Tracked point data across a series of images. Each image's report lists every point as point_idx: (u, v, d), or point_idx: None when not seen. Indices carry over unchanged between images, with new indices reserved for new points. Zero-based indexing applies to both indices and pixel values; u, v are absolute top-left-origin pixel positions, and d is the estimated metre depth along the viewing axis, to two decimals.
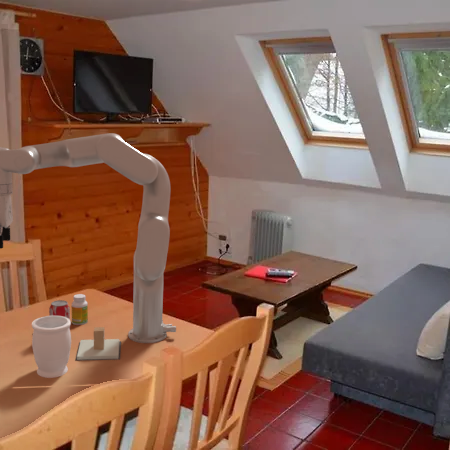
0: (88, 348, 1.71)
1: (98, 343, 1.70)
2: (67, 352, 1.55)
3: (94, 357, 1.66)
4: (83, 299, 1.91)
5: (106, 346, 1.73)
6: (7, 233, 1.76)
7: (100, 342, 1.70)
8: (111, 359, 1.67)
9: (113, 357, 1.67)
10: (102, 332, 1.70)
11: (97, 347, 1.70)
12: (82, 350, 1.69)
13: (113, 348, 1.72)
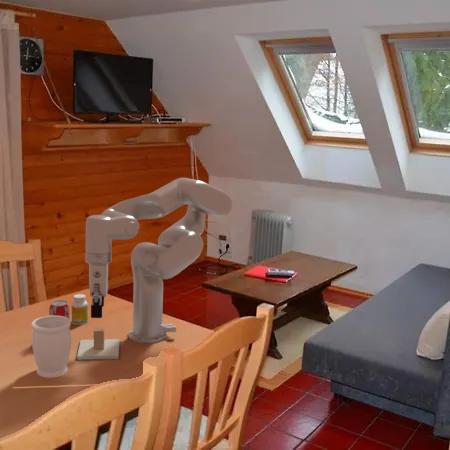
0: (88, 348, 1.71)
1: (98, 343, 1.70)
2: (67, 352, 1.55)
3: (94, 357, 1.66)
4: (83, 299, 1.91)
5: (106, 346, 1.73)
6: (101, 299, 1.73)
7: (100, 342, 1.70)
8: (111, 359, 1.67)
9: (113, 357, 1.67)
10: (102, 332, 1.70)
11: (97, 347, 1.70)
12: (82, 350, 1.69)
13: (113, 348, 1.72)
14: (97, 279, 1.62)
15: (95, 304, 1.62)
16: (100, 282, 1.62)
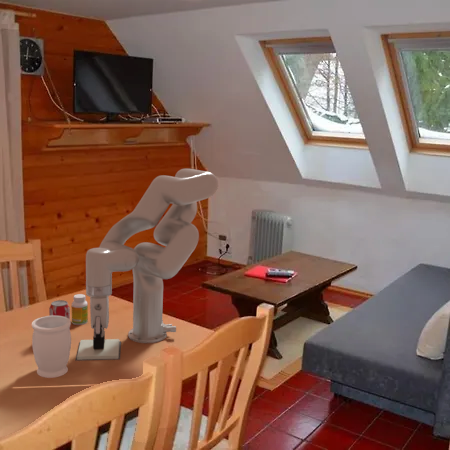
0: (88, 348, 1.71)
1: None
2: (67, 352, 1.55)
3: (94, 357, 1.66)
4: (83, 299, 1.91)
5: (106, 346, 1.73)
6: None
7: None
8: (111, 359, 1.67)
9: (113, 357, 1.67)
10: None
11: None
12: (82, 350, 1.69)
13: (113, 348, 1.72)
14: (98, 312, 1.65)
15: (97, 336, 1.68)
16: (101, 315, 1.65)
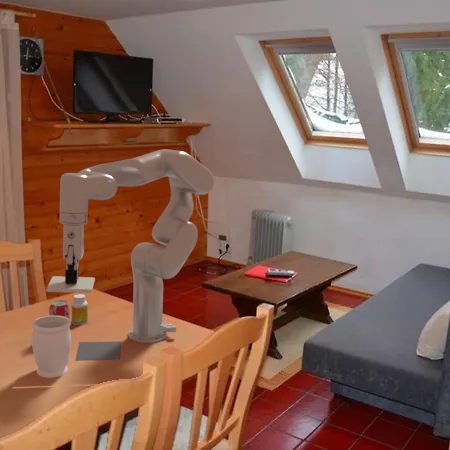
0: (60, 282, 1.58)
1: None
2: (67, 352, 1.55)
3: (65, 290, 1.53)
4: (83, 299, 1.91)
5: (80, 282, 1.60)
6: None
7: None
8: (111, 359, 1.67)
9: (86, 291, 1.54)
10: None
11: None
12: (53, 284, 1.57)
13: (87, 283, 1.59)
14: (71, 240, 1.52)
15: (69, 268, 1.55)
16: (74, 243, 1.52)
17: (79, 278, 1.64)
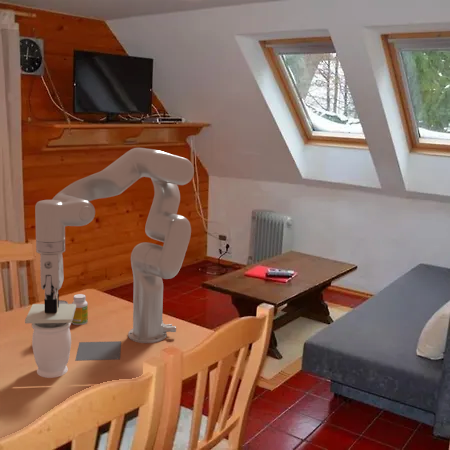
0: (39, 312, 1.54)
1: None
2: (67, 352, 1.55)
3: (44, 321, 1.49)
4: (83, 299, 1.91)
5: (60, 311, 1.56)
6: None
7: None
8: (111, 359, 1.67)
9: (66, 321, 1.50)
10: None
11: None
12: (32, 314, 1.52)
13: (68, 312, 1.55)
14: (48, 270, 1.48)
15: (48, 298, 1.51)
16: (52, 273, 1.48)
17: (60, 305, 1.60)
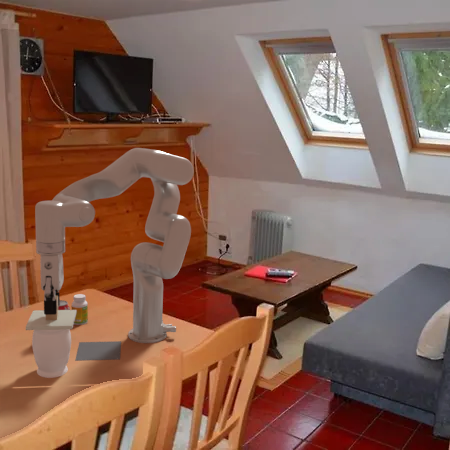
0: (40, 318, 1.55)
1: None
2: (67, 352, 1.55)
3: (45, 327, 1.50)
4: (83, 299, 1.91)
5: (61, 317, 1.56)
6: None
7: None
8: (111, 359, 1.67)
9: (66, 328, 1.51)
10: None
11: (50, 317, 1.54)
12: (32, 320, 1.53)
13: (68, 318, 1.56)
14: (48, 271, 1.48)
15: (48, 300, 1.50)
16: (52, 274, 1.48)
17: (60, 311, 1.60)
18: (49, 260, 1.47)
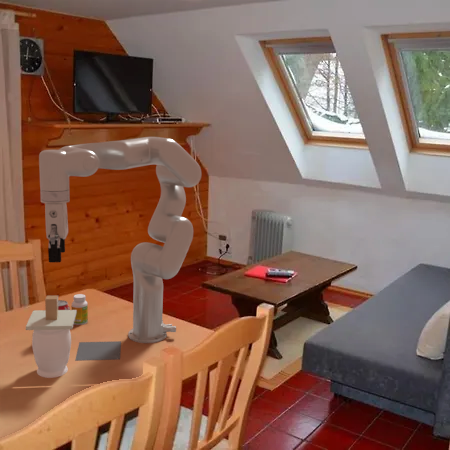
0: (40, 318, 1.55)
1: (50, 312, 1.54)
2: (67, 352, 1.55)
3: (45, 327, 1.50)
4: (83, 299, 1.91)
5: (61, 317, 1.56)
6: (62, 244, 1.59)
7: (53, 312, 1.54)
8: (111, 359, 1.67)
9: (66, 328, 1.51)
10: (55, 300, 1.53)
11: (50, 317, 1.54)
12: (32, 320, 1.53)
13: (68, 318, 1.56)
14: (54, 219, 1.48)
15: (52, 247, 1.48)
16: (57, 222, 1.48)
17: (60, 311, 1.60)
18: (54, 208, 1.47)
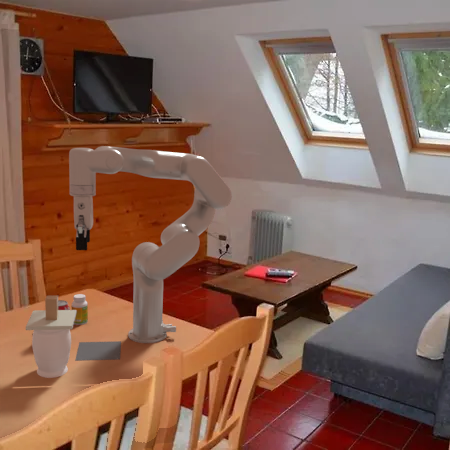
0: (40, 318, 1.55)
1: (50, 312, 1.54)
2: (67, 352, 1.55)
3: (45, 327, 1.50)
4: (83, 299, 1.91)
5: (61, 317, 1.56)
6: (87, 235, 1.74)
7: (53, 312, 1.54)
8: (111, 359, 1.67)
9: (66, 328, 1.51)
10: (55, 300, 1.53)
11: (50, 317, 1.54)
12: (32, 321, 1.53)
13: (68, 318, 1.56)
14: (81, 211, 1.62)
15: (80, 236, 1.62)
16: (84, 214, 1.63)
17: (60, 312, 1.60)
18: (82, 201, 1.62)
